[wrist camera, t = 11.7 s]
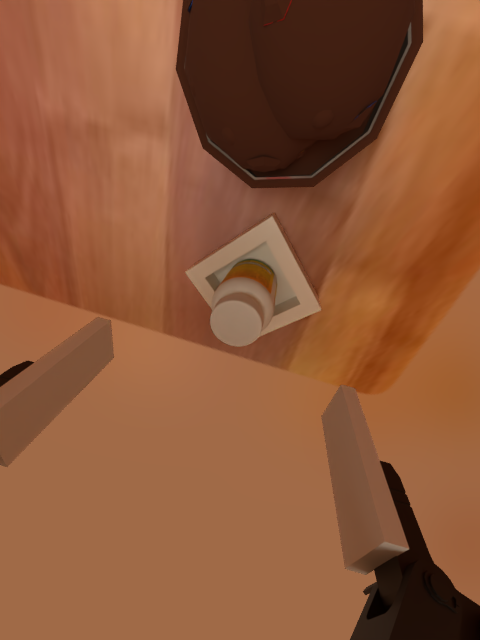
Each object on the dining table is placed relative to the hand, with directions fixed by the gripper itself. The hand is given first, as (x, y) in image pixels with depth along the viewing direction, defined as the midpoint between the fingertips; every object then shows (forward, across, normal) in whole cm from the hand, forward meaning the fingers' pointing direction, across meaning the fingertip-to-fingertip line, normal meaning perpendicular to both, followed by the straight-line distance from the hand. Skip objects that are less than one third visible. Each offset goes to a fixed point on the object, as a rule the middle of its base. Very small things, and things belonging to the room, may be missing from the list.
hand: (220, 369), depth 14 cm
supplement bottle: (+15, 0, 0) cm, 15 cm away
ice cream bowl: (+15, 0, +14) cm, 21 cm away
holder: (+15, 0, 0) cm, 15 cm away
